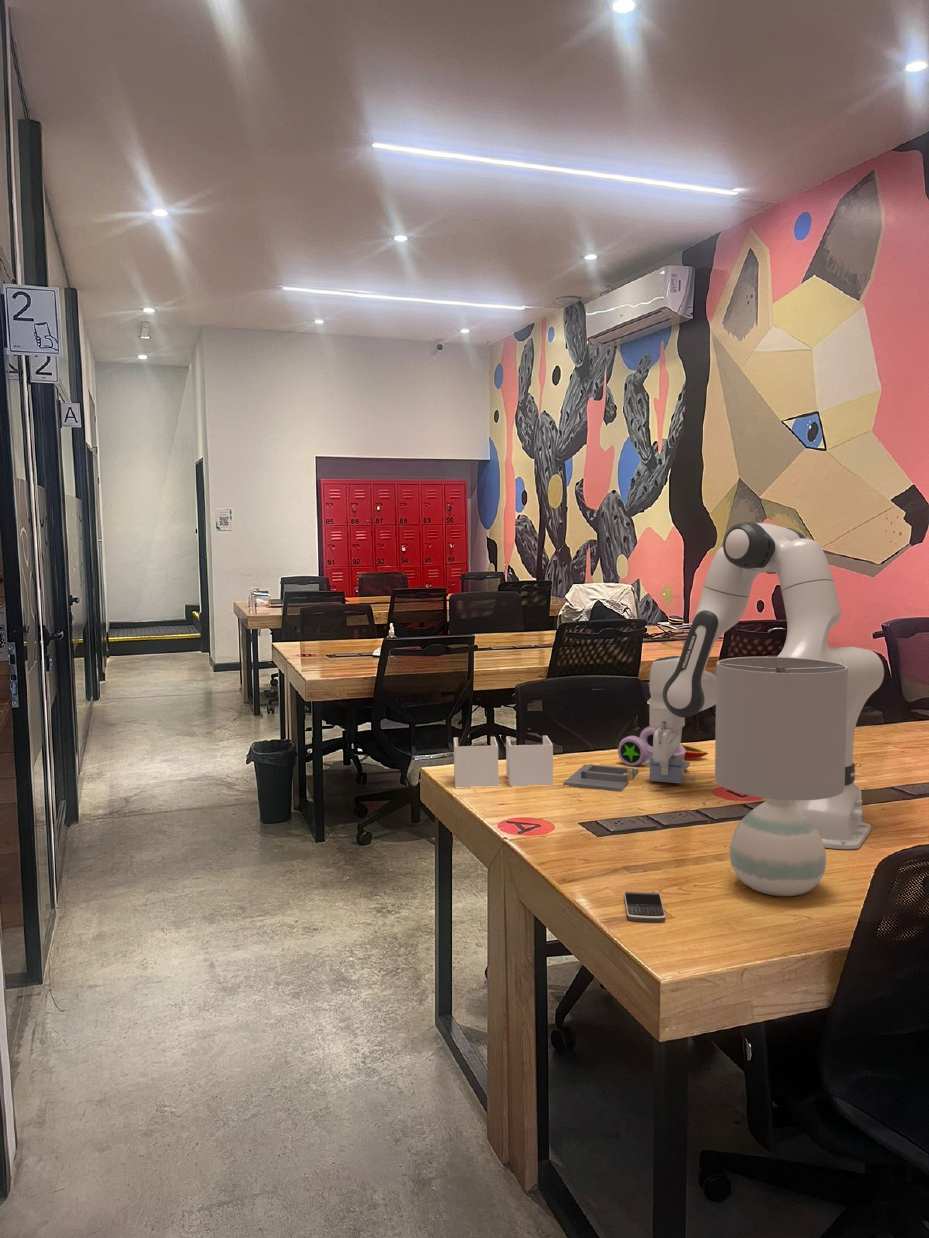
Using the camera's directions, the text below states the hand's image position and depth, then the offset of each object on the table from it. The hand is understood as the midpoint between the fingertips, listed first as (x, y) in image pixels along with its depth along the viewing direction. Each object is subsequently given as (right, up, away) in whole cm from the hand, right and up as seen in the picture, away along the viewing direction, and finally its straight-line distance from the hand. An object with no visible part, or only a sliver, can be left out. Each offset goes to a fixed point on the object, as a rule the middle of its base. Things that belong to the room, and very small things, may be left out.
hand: (666, 771), depth 225 cm
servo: (0, -2, 0) cm, 2 cm away
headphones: (+4, -2, +23) cm, 24 cm away
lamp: (+4, -9, -68) cm, 69 cm away
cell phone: (-22, -11, -77) cm, 80 cm away
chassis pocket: (-16, -3, +5) cm, 17 cm away
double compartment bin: (-42, -4, +4) cm, 43 cm away
